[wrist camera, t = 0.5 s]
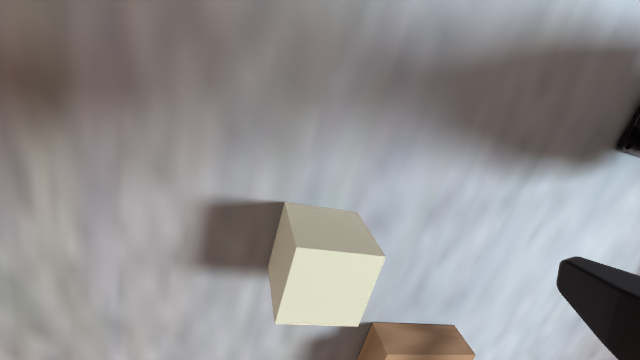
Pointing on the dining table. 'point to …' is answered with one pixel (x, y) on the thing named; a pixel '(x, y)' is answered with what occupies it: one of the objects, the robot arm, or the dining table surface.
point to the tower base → (414, 343)
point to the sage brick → (322, 266)
